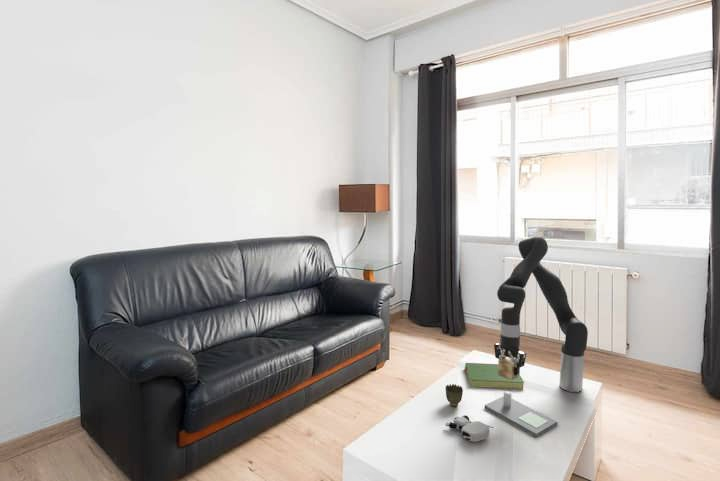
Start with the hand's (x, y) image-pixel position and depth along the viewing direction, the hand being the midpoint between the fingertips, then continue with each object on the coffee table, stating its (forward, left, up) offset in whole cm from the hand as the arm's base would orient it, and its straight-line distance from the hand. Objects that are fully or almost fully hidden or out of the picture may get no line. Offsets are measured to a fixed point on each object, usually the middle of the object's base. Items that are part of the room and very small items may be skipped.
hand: (509, 371), depth 164 cm
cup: (+16, -15, -17) cm, 28 cm away
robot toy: (+26, +2, -17) cm, 31 cm away
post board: (0, +6, -17) cm, 18 cm away
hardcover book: (-18, -22, -18) cm, 34 cm away
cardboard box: (0, 0, -2) cm, 2 cm away
